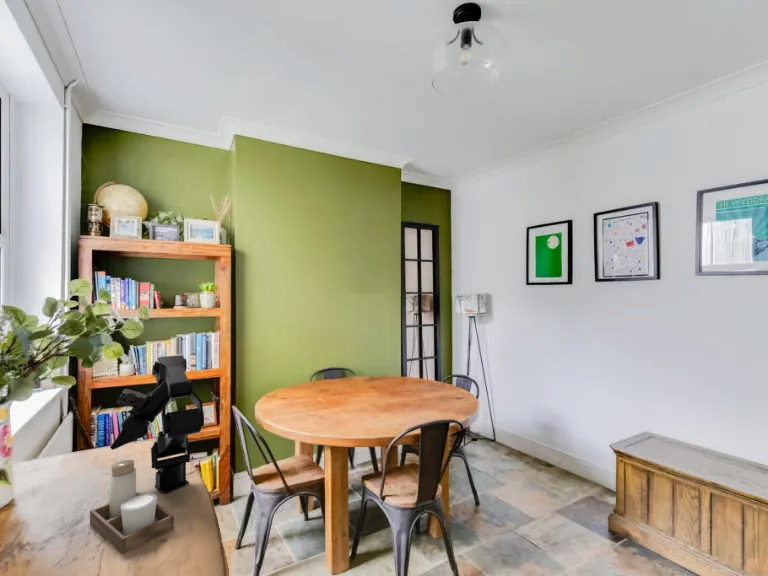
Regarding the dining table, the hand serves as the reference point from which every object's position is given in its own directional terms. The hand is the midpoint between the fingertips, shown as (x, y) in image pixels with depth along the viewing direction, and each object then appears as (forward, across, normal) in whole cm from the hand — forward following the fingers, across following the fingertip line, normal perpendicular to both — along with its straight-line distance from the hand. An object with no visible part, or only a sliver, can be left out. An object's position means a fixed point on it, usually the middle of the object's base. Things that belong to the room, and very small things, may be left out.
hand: (115, 442), depth 104 cm
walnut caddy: (+4, +20, +14) cm, 25 cm away
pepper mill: (+6, +16, +12) cm, 21 cm away
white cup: (+3, +24, +16) cm, 29 cm away
